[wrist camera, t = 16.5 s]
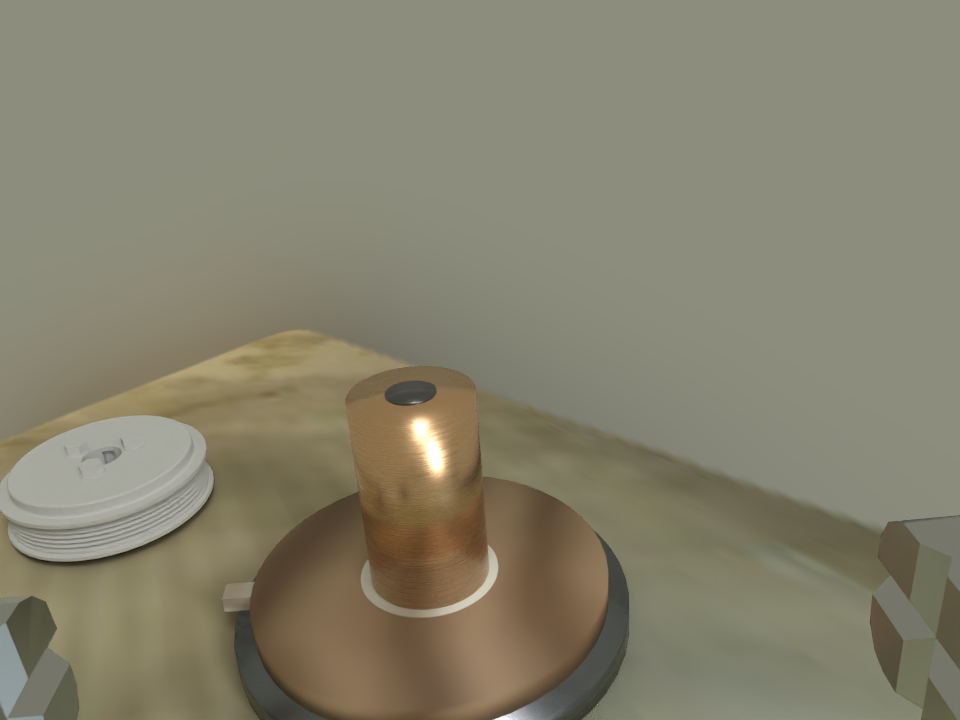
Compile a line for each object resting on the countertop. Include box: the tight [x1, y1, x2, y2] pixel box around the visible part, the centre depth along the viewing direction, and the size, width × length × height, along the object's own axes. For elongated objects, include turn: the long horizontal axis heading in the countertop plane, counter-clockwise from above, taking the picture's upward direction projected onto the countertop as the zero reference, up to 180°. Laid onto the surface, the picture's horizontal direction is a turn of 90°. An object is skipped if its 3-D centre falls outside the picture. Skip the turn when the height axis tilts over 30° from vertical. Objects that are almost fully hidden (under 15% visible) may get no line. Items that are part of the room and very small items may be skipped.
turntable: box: [222, 477, 609, 720], centre depth 44 cm, size 20×18×2 cm
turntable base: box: [235, 530, 629, 720], centre depth 45 cm, size 20×20×2 cm
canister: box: [345, 366, 489, 610], centre depth 42 cm, size 6×6×10 cm
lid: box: [0, 415, 214, 562], centre depth 56 cm, size 13×13×5 cm
